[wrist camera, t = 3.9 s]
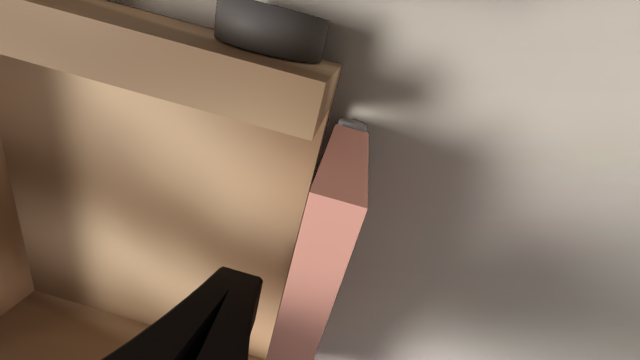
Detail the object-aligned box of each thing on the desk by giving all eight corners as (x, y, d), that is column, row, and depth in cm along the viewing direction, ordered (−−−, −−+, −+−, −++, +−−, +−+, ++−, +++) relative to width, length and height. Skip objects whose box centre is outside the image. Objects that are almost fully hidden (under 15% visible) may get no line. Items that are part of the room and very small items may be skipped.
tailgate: (297, 351, 15) (262, 503, 10) (276, 344, 15) (232, 494, 10) (368, 124, 10) (368, 207, 5) (338, 115, 10) (309, 192, 5)
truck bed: (263, 372, 16) (223, 500, 12) (34, 303, 17) (-89, 402, 12) (351, 27, 9) (334, 20, 5) (-54, -82, 10) (-433, -184, 5)
